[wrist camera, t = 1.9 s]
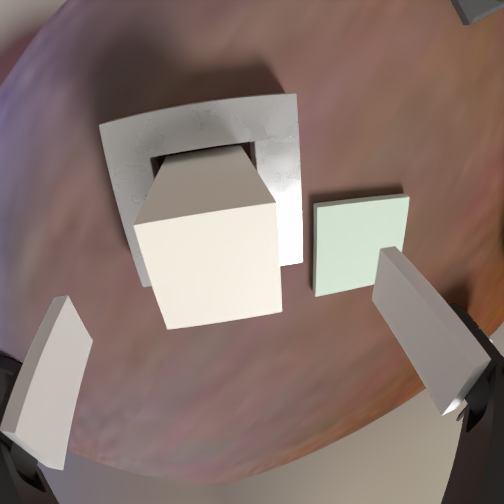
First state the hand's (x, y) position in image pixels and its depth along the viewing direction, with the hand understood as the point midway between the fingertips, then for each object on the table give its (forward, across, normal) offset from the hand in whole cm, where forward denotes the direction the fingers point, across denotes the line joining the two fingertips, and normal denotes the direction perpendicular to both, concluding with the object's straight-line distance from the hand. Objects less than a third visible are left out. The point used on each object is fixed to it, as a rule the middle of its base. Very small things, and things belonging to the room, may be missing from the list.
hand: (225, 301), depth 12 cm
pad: (+15, +14, -8) cm, 22 cm away
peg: (+15, 0, 0) cm, 15 cm away
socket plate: (+15, 0, 0) cm, 15 cm away
